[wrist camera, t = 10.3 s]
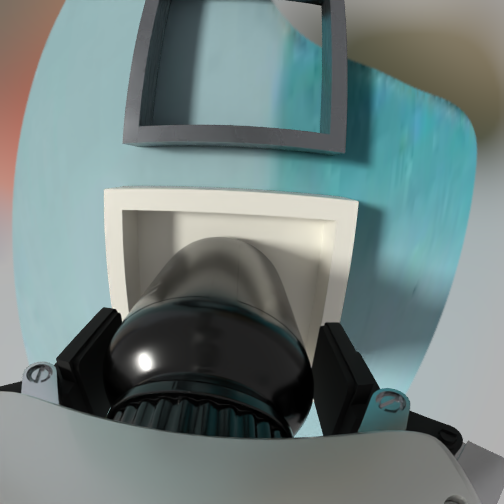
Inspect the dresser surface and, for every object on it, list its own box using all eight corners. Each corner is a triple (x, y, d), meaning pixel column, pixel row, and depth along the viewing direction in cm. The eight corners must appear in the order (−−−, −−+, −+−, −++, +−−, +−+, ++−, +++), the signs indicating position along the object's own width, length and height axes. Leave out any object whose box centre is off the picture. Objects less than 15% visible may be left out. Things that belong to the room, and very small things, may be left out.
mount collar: (160, -8, 11) (152, -24, 9) (333, -1, 12) (342, -17, 10) (137, 146, 14) (122, 143, 12) (333, 155, 14) (345, 153, 13)
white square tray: (124, 186, 15) (104, 189, 12) (342, 196, 15) (358, 201, 13) (138, 366, 18) (127, 388, 15) (312, 377, 18) (320, 401, 16)
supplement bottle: (191, 356, 17) (147, 533, 6) (144, 257, 15) (-2, 403, 4) (298, 326, 17) (354, 516, 5) (261, 215, 15) (311, 359, 3)
